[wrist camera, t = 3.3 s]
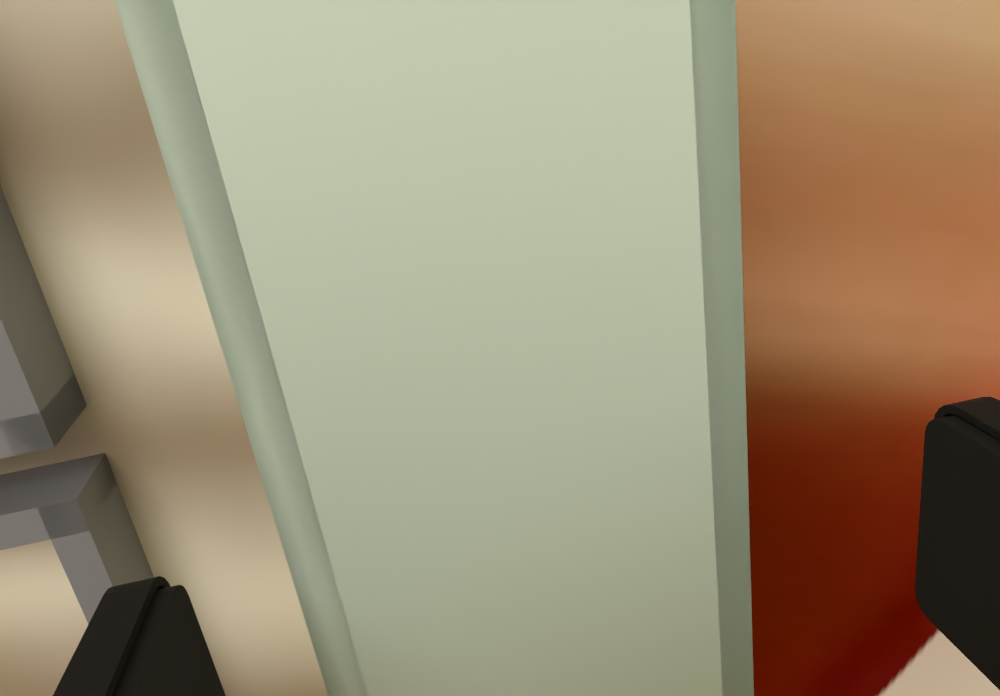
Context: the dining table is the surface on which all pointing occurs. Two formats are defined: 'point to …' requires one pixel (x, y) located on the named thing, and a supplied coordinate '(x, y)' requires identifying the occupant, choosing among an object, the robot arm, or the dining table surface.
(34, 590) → the board
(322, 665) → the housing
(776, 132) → the dining table surface
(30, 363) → the socket
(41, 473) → the socket
